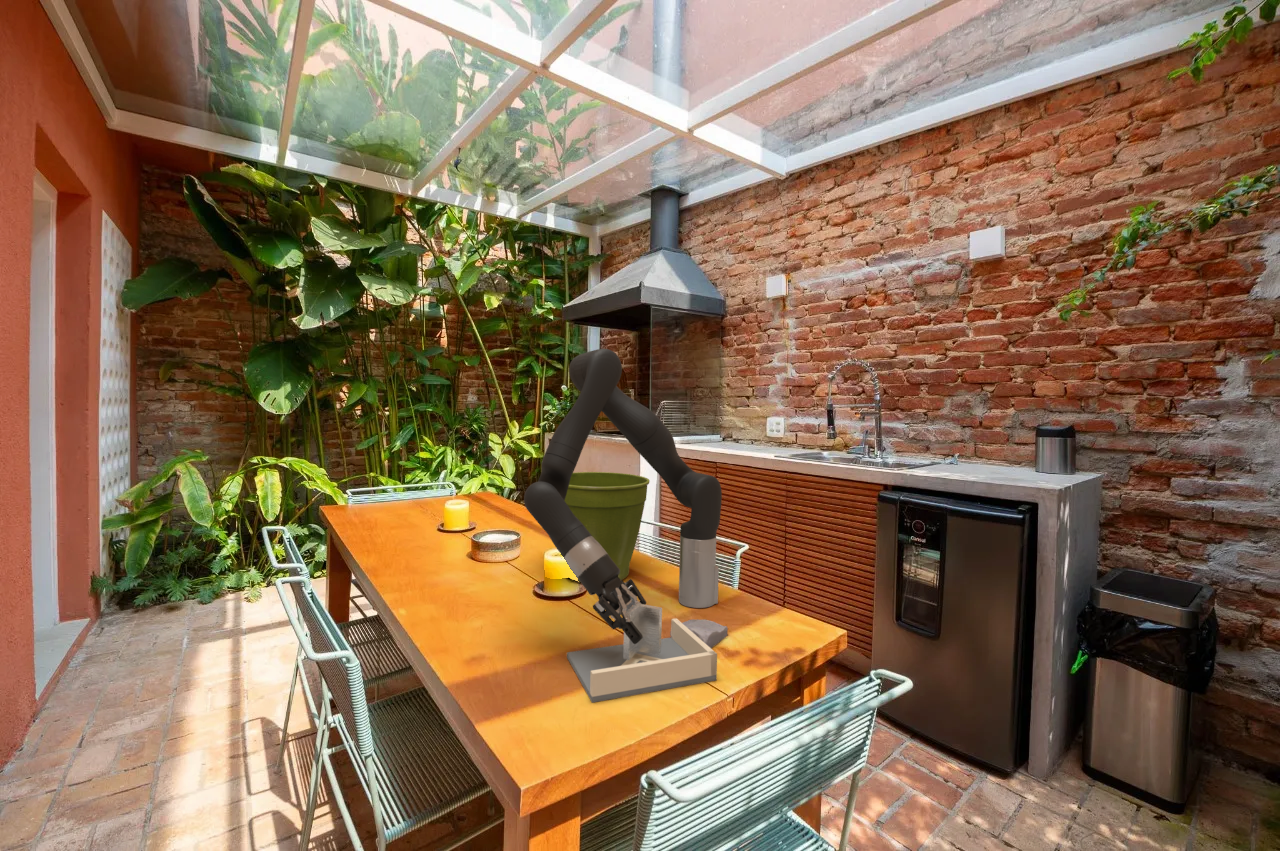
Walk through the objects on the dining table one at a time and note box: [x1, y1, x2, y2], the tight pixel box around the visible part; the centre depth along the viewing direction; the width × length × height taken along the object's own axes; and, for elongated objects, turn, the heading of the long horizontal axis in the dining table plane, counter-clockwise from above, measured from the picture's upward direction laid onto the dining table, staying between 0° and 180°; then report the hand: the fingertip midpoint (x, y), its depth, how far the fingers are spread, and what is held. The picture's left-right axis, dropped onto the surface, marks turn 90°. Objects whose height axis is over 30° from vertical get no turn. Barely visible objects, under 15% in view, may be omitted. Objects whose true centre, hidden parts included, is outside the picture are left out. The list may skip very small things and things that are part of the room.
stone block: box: [669, 618, 729, 649], centre depth 124 cm, size 12×5×10 cm
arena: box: [566, 618, 718, 703], centre depth 110 cm, size 24×18×5 cm
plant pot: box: [564, 471, 651, 583], centre depth 166 cm, size 30×30×29 cm
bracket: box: [623, 603, 663, 660], centre depth 109 cm, size 6×6×9 cm
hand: (645, 634), depth 109 cm, fingers closed on bracket, 5 cm apart
